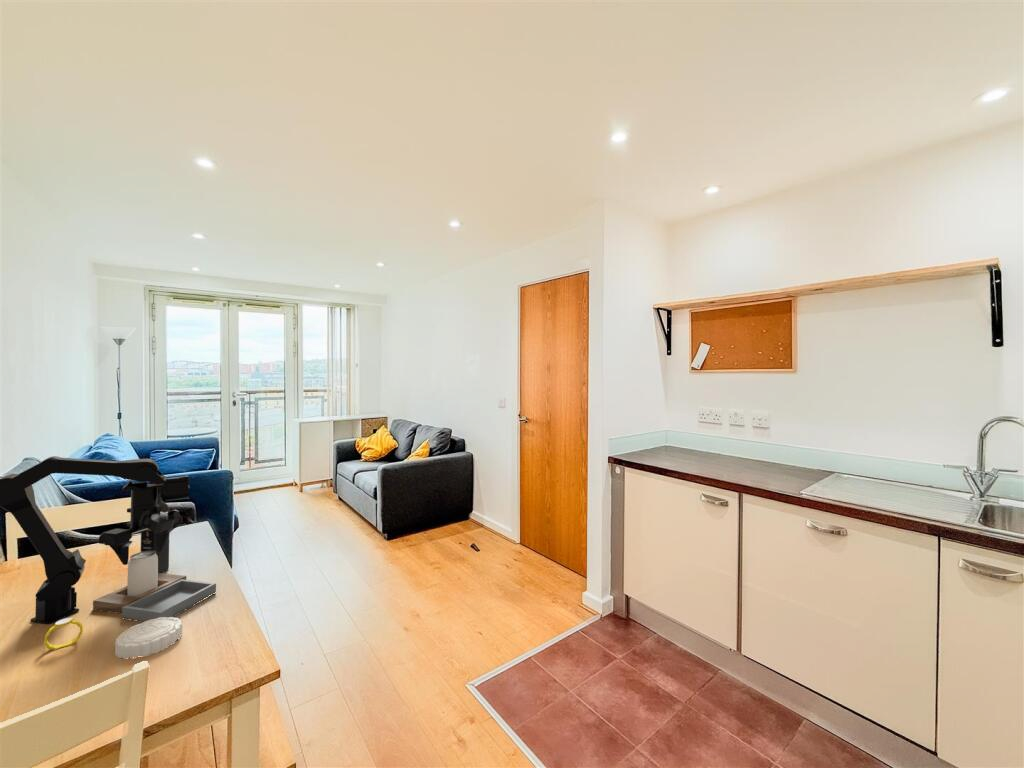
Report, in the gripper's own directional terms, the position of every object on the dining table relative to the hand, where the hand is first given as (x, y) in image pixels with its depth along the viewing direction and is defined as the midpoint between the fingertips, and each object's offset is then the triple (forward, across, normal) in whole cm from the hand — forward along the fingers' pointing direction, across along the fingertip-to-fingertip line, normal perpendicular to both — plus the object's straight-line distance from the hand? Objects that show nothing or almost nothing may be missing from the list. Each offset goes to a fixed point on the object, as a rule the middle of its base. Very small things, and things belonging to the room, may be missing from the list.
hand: (142, 557), depth 119 cm
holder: (+11, 0, 0) cm, 11 cm away
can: (+11, 0, 0) cm, 11 cm away
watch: (+11, -22, -6) cm, 25 cm away
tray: (+11, -2, -13) cm, 17 cm away
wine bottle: (+11, +13, +12) cm, 21 cm away
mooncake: (+12, -17, -24) cm, 32 cm away
